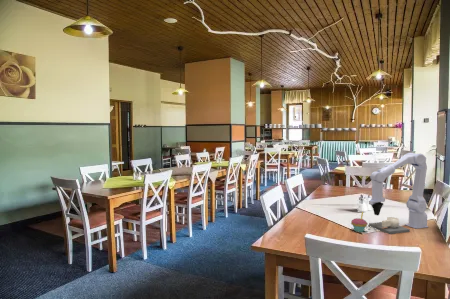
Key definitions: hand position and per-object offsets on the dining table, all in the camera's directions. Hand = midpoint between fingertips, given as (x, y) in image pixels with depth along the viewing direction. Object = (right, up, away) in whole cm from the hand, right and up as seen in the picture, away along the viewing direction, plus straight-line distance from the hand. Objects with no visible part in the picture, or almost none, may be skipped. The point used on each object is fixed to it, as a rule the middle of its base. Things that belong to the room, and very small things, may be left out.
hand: (376, 214), depth 186 cm
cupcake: (-13, -8, -5) cm, 16 cm away
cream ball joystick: (+5, -5, -4) cm, 9 cm away
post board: (+6, -8, -1) cm, 10 cm away
